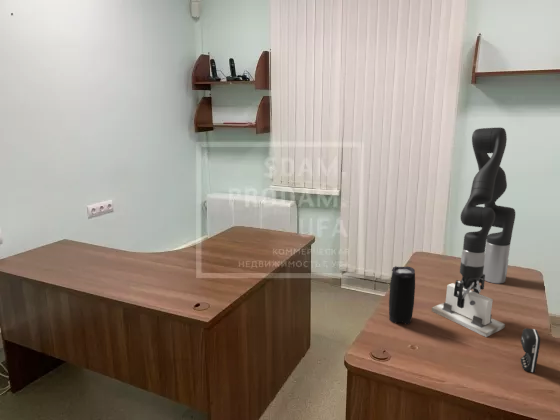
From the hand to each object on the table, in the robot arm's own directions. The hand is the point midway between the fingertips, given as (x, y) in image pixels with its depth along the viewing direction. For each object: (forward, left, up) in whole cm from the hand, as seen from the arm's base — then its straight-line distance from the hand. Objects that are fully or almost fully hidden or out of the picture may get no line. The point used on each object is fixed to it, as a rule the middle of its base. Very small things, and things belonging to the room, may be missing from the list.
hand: (467, 304), depth 155 cm
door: (0, 0, -4) cm, 4 cm away
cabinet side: (0, 0, -6) cm, 6 cm away
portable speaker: (+20, -13, -6) cm, 25 cm away
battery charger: (+10, +27, -6) cm, 29 cm away
